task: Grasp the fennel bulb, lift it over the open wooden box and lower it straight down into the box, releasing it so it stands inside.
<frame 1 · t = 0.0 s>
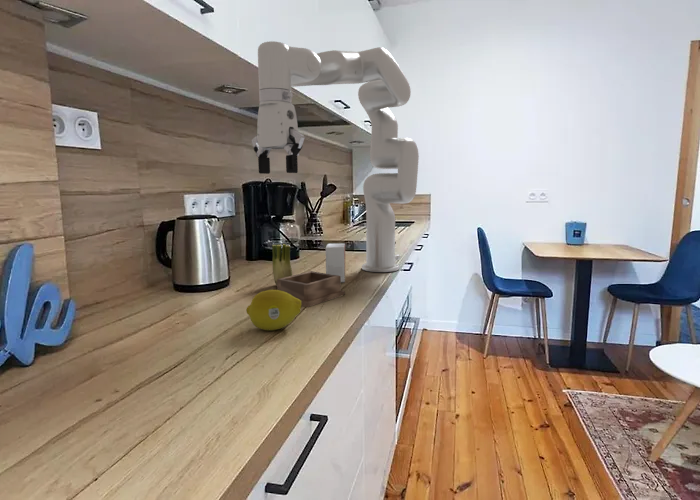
hand: (277, 173, 104), 31 cm above the worktop, tool pointing down, fingers open, 9 cm apart
small box: (336, 280, 128), on the worktop
open wooden box: (309, 296, 109), on the worktop
fennel bulb: (283, 286, 121), on the worktop
lemon: (274, 329, 86), on the worktop
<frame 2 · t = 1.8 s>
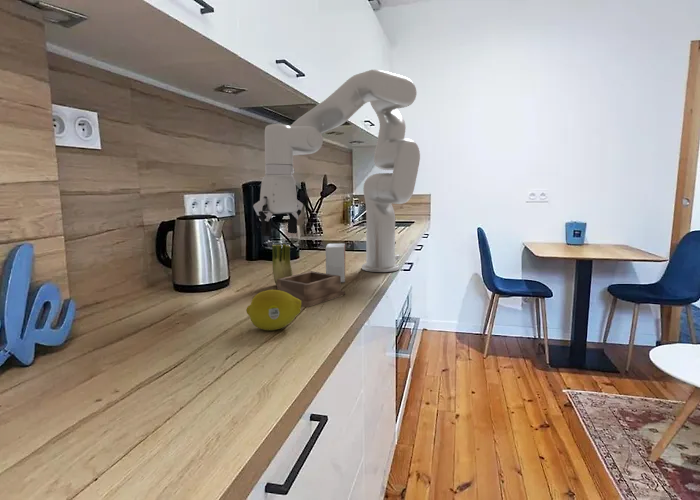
hand: (279, 234, 118), 15 cm above the worktop, tool pointing down, fingers open, 9 cm apart
nothing on the worktop moved.
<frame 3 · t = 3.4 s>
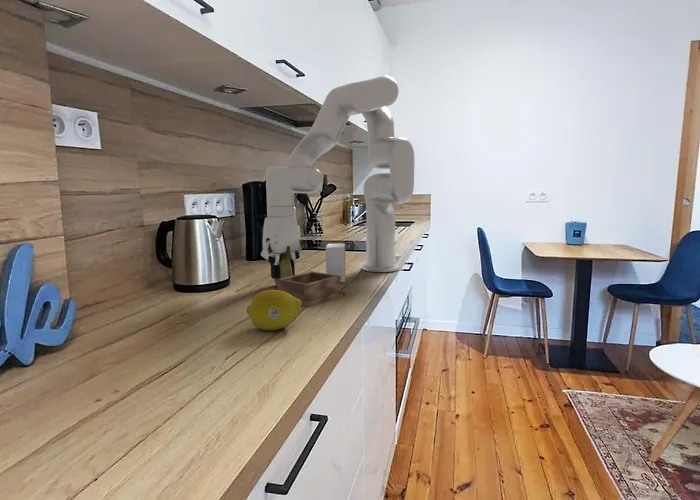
hand: (282, 276, 120), 3 cm above the worktop, tool pointing down, fingers closed on fennel bulb, 4 cm apart
fennel bulb: (283, 286, 121), on the worktop, touching gripper
everything else where it was.
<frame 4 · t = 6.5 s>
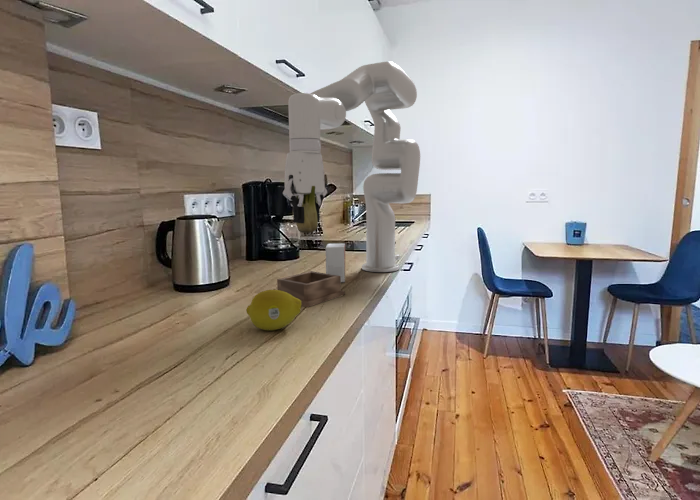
hand: (306, 221, 107), 19 cm above the worktop, tool pointing down, fingers closed on fennel bulb, 4 cm apart
fennel bulb: (307, 233, 107), point 16 cm above the worktop, touching gripper
everything else where it was.
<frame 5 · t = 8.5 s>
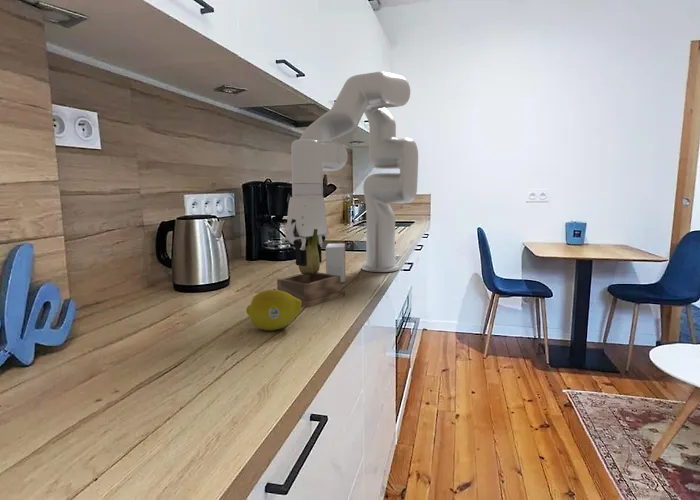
hand: (308, 263, 108), 9 cm above the worktop, tool pointing down, fingers closed on fennel bulb, 4 cm apart
fennel bulb: (309, 274, 108), point 6 cm above the worktop, touching gripper
everything else where it was.
when the fingers open (5 cm above the worktop, at t = 9.7 s): fennel bulb drops 1 cm, resting on open wooden box.
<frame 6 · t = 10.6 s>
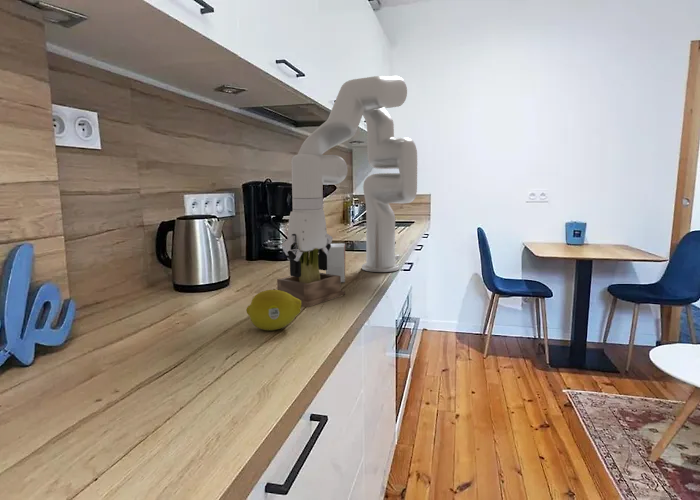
hand: (309, 272, 108), 6 cm above the worktop, tool pointing down, fingers open, 9 cm apart
fennel bulb: (310, 293, 109), point 1 cm above the worktop, touching open wooden box
everything else where it was.
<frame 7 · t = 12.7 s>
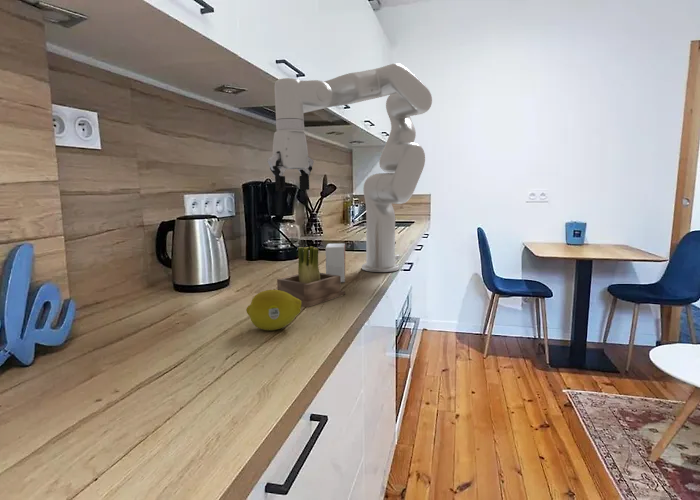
hand: (293, 190, 120), 27 cm above the worktop, tool pointing down, fingers open, 9 cm apart
nothing on the worktop moved.
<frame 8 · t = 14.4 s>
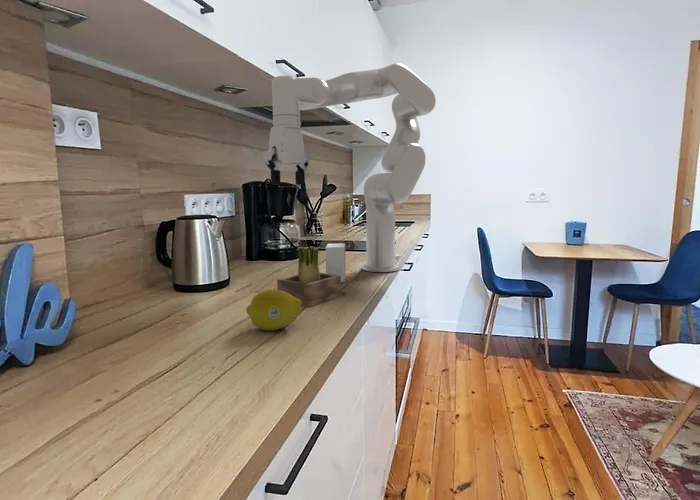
hand: (288, 184, 123), 28 cm above the worktop, tool pointing down, fingers open, 9 cm apart
nothing on the worktop moved.
at the end: fennel bulb 0.3 cm off-centre on the open wooden box, point 0.8 cm above the open wooden box's base; fennel bulb tilted 0°; the gripper is holding nothing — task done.
